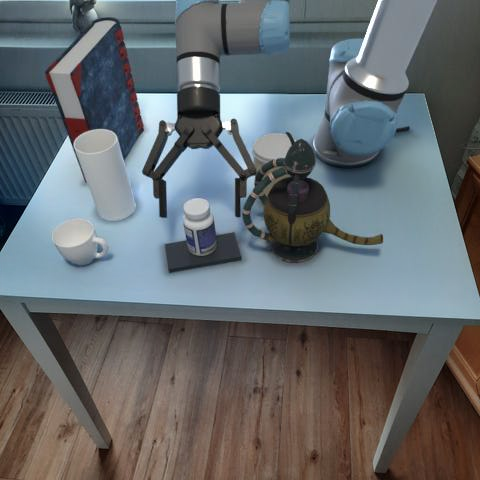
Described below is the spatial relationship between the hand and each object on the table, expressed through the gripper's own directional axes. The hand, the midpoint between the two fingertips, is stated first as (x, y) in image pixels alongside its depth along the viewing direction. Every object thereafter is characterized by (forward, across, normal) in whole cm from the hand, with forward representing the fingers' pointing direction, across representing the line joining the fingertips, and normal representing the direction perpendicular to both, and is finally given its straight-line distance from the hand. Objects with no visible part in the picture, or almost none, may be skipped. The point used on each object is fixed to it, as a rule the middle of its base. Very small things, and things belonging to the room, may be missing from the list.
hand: (200, 217), depth 85 cm
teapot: (+6, -21, -8) cm, 23 cm away
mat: (+6, +1, -6) cm, 9 cm away
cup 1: (-3, +21, -16) cm, 26 cm away
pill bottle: (+5, +1, -6) cm, 8 cm away
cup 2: (+8, +23, -5) cm, 25 cm away
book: (-18, +25, -30) cm, 43 cm away
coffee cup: (-6, -13, -19) cm, 24 cm away
